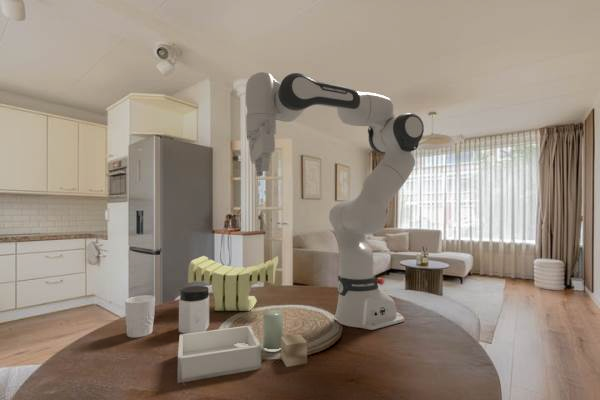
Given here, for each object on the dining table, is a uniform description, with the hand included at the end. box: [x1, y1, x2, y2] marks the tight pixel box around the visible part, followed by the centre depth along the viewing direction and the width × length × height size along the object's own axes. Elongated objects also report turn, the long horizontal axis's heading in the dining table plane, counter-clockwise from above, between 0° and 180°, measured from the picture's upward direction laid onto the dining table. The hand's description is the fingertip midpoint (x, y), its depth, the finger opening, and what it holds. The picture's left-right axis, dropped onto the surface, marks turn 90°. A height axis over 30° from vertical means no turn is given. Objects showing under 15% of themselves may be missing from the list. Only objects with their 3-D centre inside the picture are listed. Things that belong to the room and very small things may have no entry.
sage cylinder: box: [262, 309, 284, 349], centre depth 81 cm, size 5×5×9 cm
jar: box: [178, 285, 210, 334], centre depth 95 cm, size 9×8×12 cm
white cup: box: [124, 294, 156, 339], centre depth 91 cm, size 8×8×10 cm
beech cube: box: [280, 333, 308, 368], centre depth 75 cm, size 5×5×5 cm
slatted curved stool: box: [187, 255, 279, 312], centre depth 117 cm, size 30×16×18 cm, turn 88°
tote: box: [177, 325, 262, 384], centre depth 74 cm, size 18×14×5 cm
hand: (262, 173), depth 93 cm, fingers open, 8 cm apart
